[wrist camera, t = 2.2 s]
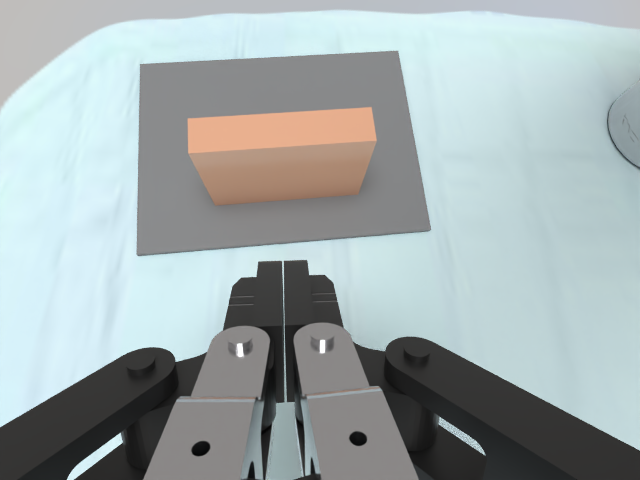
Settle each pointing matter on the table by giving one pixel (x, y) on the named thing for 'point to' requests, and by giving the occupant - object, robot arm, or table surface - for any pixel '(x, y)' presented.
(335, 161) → the tile
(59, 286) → the table surface
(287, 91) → the mat
